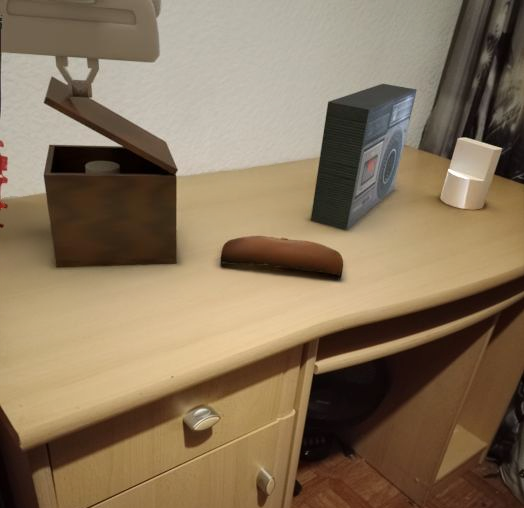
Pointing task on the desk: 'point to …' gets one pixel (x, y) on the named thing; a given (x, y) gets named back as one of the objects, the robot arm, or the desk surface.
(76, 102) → the box lid
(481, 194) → the base with upright slab
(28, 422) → the desk surface
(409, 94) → the cassette player
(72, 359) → the desk surface
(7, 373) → the desk surface
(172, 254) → the box
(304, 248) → the sunglasses case
